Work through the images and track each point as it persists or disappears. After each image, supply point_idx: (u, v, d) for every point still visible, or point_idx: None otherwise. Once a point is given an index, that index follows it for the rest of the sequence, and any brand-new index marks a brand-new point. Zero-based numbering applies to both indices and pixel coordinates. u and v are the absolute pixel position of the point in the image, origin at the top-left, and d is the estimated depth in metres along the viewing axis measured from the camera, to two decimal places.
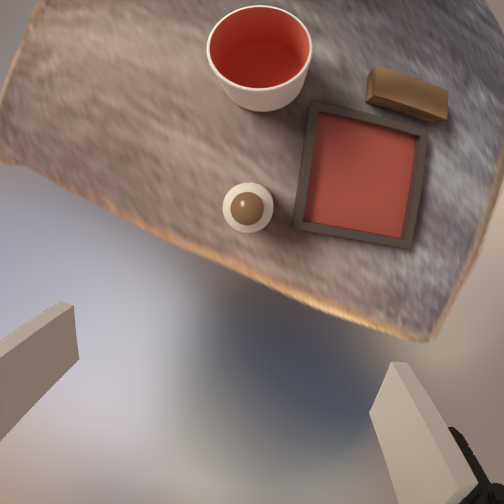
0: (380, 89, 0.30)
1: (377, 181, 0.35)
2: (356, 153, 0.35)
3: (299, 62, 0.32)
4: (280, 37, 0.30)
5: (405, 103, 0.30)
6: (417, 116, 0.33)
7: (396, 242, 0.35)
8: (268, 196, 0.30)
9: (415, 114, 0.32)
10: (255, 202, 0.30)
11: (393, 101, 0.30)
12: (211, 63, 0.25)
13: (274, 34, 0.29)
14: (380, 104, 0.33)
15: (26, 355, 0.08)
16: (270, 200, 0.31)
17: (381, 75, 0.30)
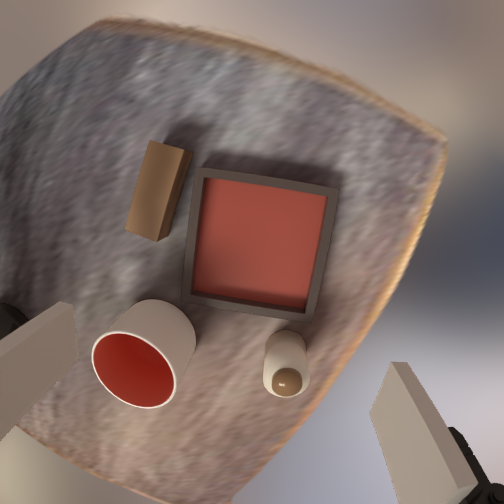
0: (150, 232, 0.32)
1: (262, 226, 0.34)
2: (232, 250, 0.35)
3: None
4: None
5: (165, 205, 0.31)
6: (183, 176, 0.34)
7: (331, 207, 0.31)
8: (276, 364, 0.31)
9: (180, 181, 0.33)
10: (281, 379, 0.30)
11: (163, 219, 0.32)
12: (154, 407, 0.30)
13: None
14: (169, 222, 0.35)
15: (26, 355, 0.08)
16: (280, 362, 0.31)
17: (135, 227, 0.32)
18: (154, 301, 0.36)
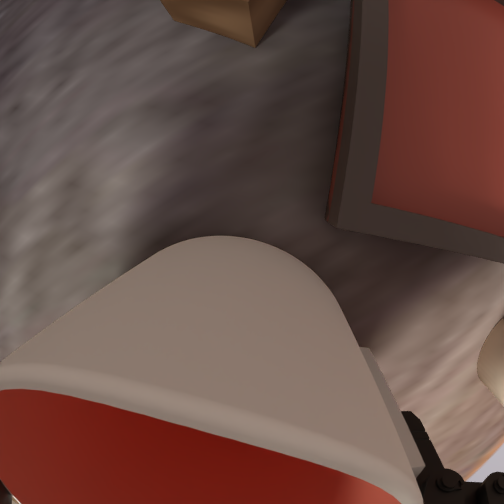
0: None
1: (501, 61, 0.09)
2: (457, 96, 0.10)
3: None
4: None
5: None
6: None
7: None
8: None
9: None
10: None
11: None
12: None
13: None
14: (274, 8, 0.09)
15: None
16: None
17: None
18: (227, 237, 0.11)
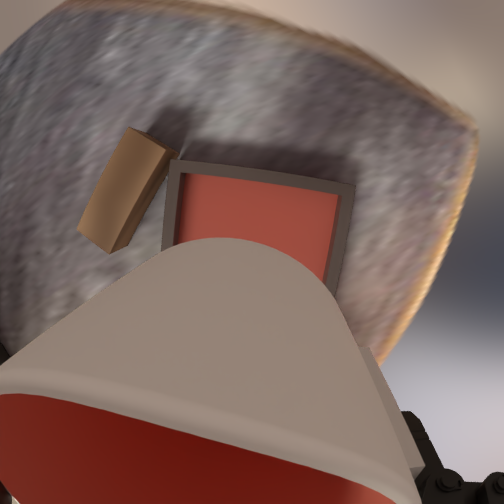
0: (104, 241, 0.25)
1: (257, 234, 0.27)
2: None
3: None
4: None
5: (127, 213, 0.24)
6: (160, 181, 0.26)
7: (346, 209, 0.24)
8: None
9: (155, 186, 0.26)
10: None
11: (121, 230, 0.24)
12: None
13: None
14: (131, 231, 0.27)
15: None
16: None
17: (88, 229, 0.24)
18: (226, 239, 0.11)
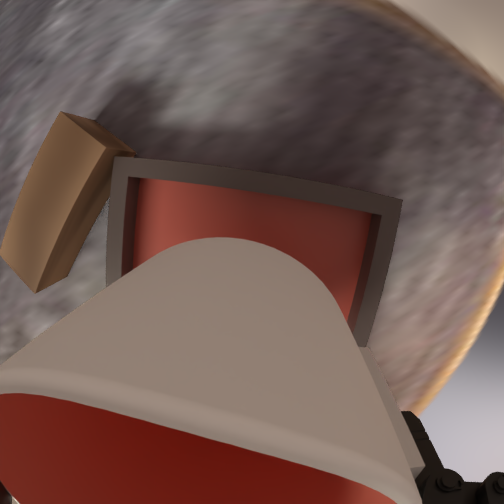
0: (28, 275, 0.15)
1: None
2: None
3: None
4: None
5: (54, 241, 0.15)
6: (106, 192, 0.17)
7: (386, 237, 0.15)
8: None
9: (97, 200, 0.17)
10: None
11: (47, 263, 0.15)
12: None
13: None
14: (69, 260, 0.18)
15: None
16: None
17: (11, 256, 0.15)
18: (227, 239, 0.11)
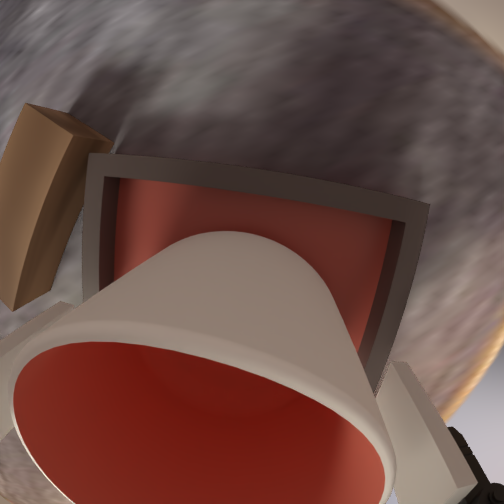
0: (4, 292, 0.13)
1: None
2: None
3: None
4: None
5: (25, 250, 0.12)
6: (82, 191, 0.14)
7: (410, 248, 0.12)
8: None
9: (73, 201, 0.14)
10: None
11: (21, 276, 0.12)
12: None
13: None
14: (49, 272, 0.15)
15: None
16: None
17: None
18: (231, 232, 0.12)
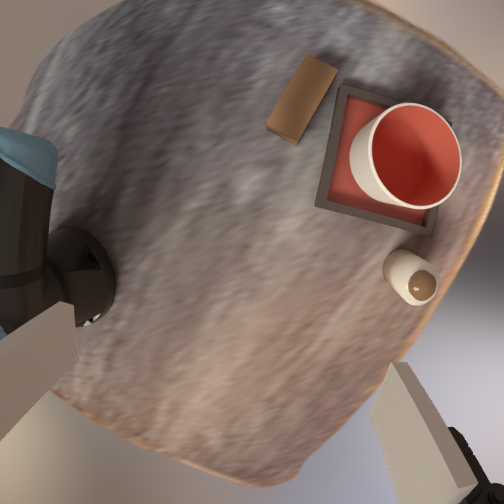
0: (293, 131, 0.32)
1: None
2: None
3: (379, 122, 0.32)
4: None
5: (314, 110, 0.31)
6: None
7: None
8: (414, 265, 0.30)
9: (322, 98, 0.33)
10: (420, 279, 0.30)
11: (308, 122, 0.32)
12: (433, 205, 0.25)
13: None
14: None
15: (26, 355, 0.08)
16: (418, 263, 0.30)
17: (278, 123, 0.32)
18: (393, 119, 0.31)
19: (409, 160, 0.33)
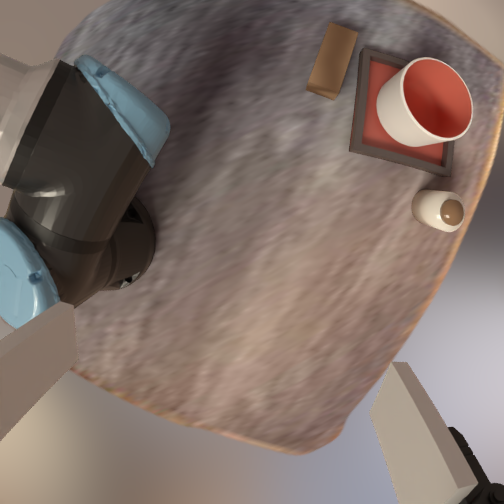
0: (333, 85, 0.34)
1: None
2: None
3: None
4: None
5: (346, 66, 0.33)
6: None
7: None
8: (443, 194, 0.32)
9: None
10: (450, 205, 0.32)
11: (343, 77, 0.33)
12: (455, 137, 0.27)
13: None
14: None
15: (26, 355, 0.08)
16: (446, 193, 0.32)
17: (319, 80, 0.34)
18: (410, 77, 0.33)
19: (425, 112, 0.36)
